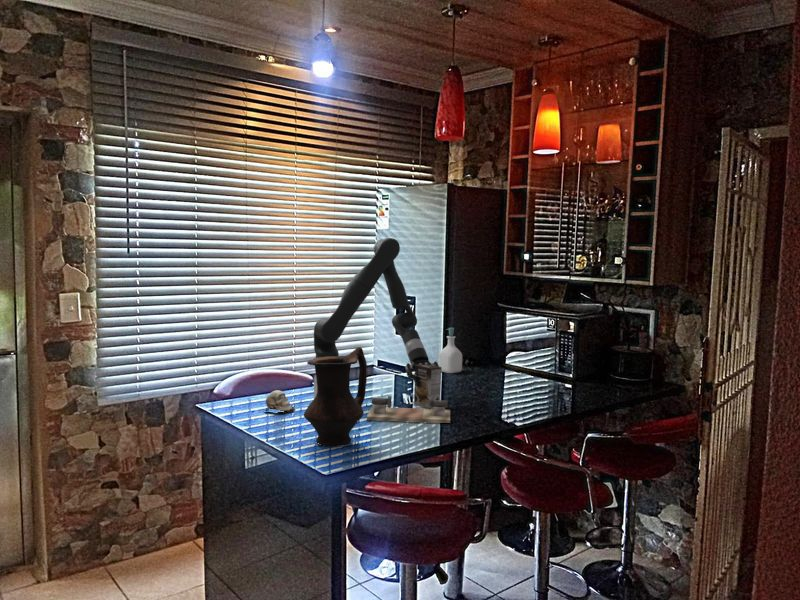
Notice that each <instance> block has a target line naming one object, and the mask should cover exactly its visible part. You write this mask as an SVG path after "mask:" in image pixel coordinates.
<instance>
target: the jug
mask: <svg viewBox="0 0 800 600" xmlns="http://www.w3.org/2000/svg"><path fill="white" fill-rule="evenodd" d="M306 362H307V365H310V366H314V371H315V376H316V380H317V395H316V397H315V399H314V398H313V400H312V401H311V402H310V403H309V405H308V406H307V407H306V409H305V411H304V412H303V417H304V418H305V419H306V421H307V422H308V423H309V424H311V426H312V428H314V431H316V433H317V438H316V440H315V443H316V442H317V443H319V444H321V445H320V446H322V445H325V446H324V447H328V446H331V447H334V446H335V447H342V446H343V445H344V446H346V445H349V444H350V443H351V442H352V438H351V436H350V434H351V433H350V432H352V430H353V428H354V427H355V426H356V425H357V424H358V422H359V421H360V420H361V419H362V417H363V415H364V410H363V403H364V401H365V398H366V389H367V380H368V379H367V377H368V371H367V368H368V365H367V363H368V362H367V360H366V357H365V354H364V350H363V348H362V347H361V346H358V347H356V348H355V349H354V350H353V351H351V352H350V353H349V354H347V355H339V356H334V357H319V358H316V357H314V358H313V359H308V360H307V361H306ZM357 363H358V367H359V368H358V369H359V372H358V373H359V374H358V385H357V391H356V395H355V397H354V396H353V394H352V393H351V390H350V385H351V382H350V381H351V379H350V372H351V366H352V365H355V364H357ZM317 443H316V444H317ZM319 444H318V445H319Z"/></svg>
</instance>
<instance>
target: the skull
mask: <svg viewBox="0 0 800 600" xmlns="http://www.w3.org/2000/svg"><path fill="white" fill-rule="evenodd" d="M265 403H266V406H267V408H268V409H269V408H270V409H276V410H280V411H287V412H292V411H294V410H295V409H296V408H295V407H294V406H291V403H290V401H289V398H288V397H286V393H284V392H283V391H281V390H279V389H278V390H273V391H271V392H270V393H269V394H268V395H267V397H266V399H265ZM287 412H286V413H287Z"/></svg>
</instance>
